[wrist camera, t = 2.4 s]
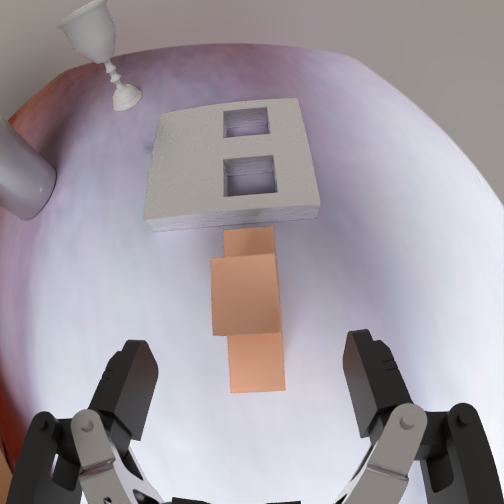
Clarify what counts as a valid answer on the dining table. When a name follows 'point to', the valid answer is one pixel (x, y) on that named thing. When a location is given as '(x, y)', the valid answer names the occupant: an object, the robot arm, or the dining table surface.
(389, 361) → the robot arm
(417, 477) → the dining table surface
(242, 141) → the plate
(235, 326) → the clip
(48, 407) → the dining table surface
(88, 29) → the chalice
